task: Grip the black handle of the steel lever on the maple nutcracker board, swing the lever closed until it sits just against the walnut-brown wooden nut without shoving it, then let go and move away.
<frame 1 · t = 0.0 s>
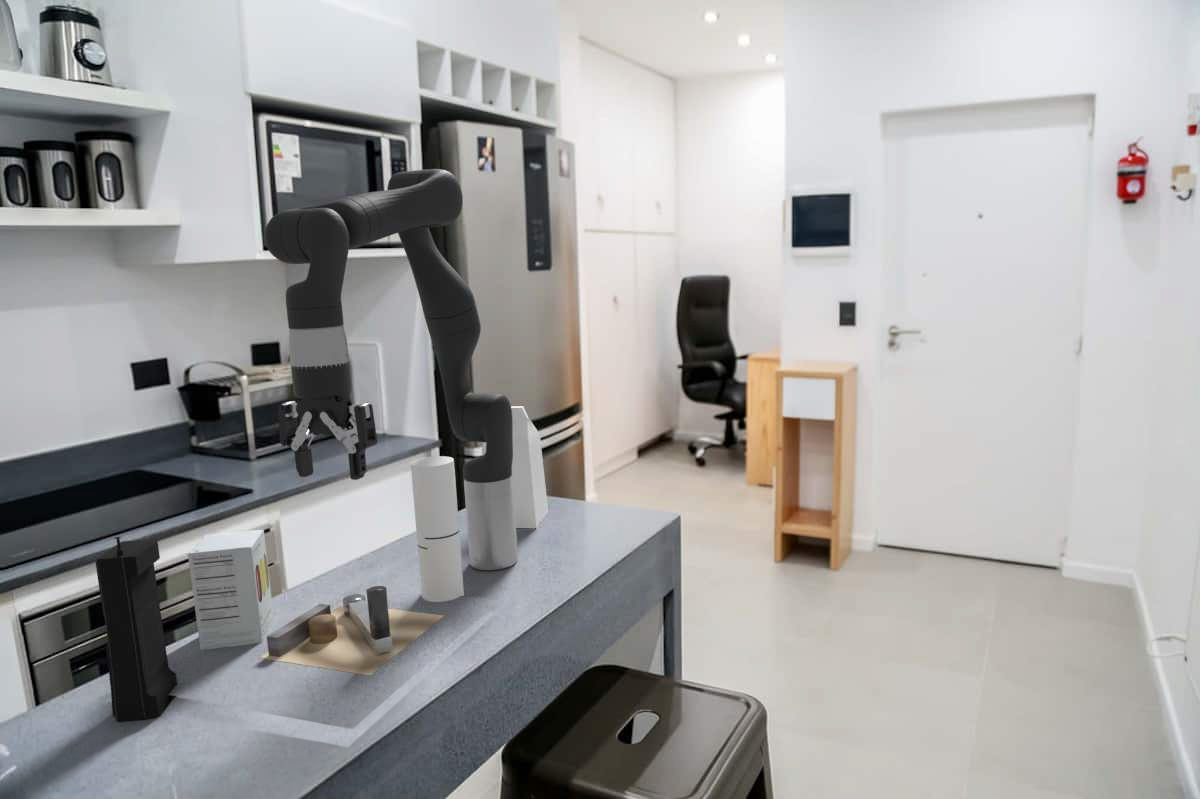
hand: (331, 477, 114), 29 cm above the counter, tool pointing down, fingers open, 8 cm apart
supplement box: (239, 642, 131), on the counter
nut: (323, 638, 127), point 1 cm above the counter, touching nutcracker board
milk: (516, 521, 186), on the counter
portable radio: (148, 706, 113), on the counter
nutcracker board: (356, 621, 136), on the counter
cylindrical container: (443, 602, 143), on the counter
lever: (364, 600, 128), point 7 cm above the counter, hinge at 50.0°
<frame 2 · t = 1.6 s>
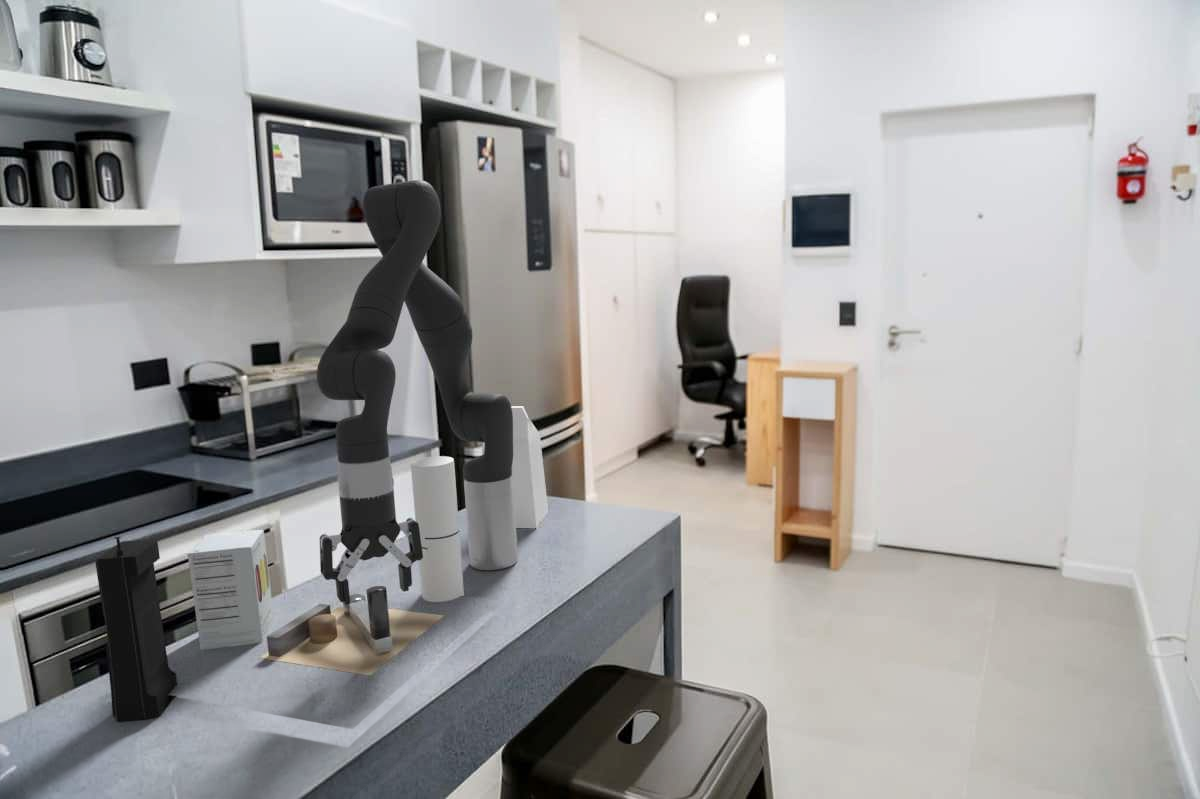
hand: (375, 596, 121), 10 cm above the counter, tool pointing down, fingers open, 8 cm apart
nothing on the counter moved.
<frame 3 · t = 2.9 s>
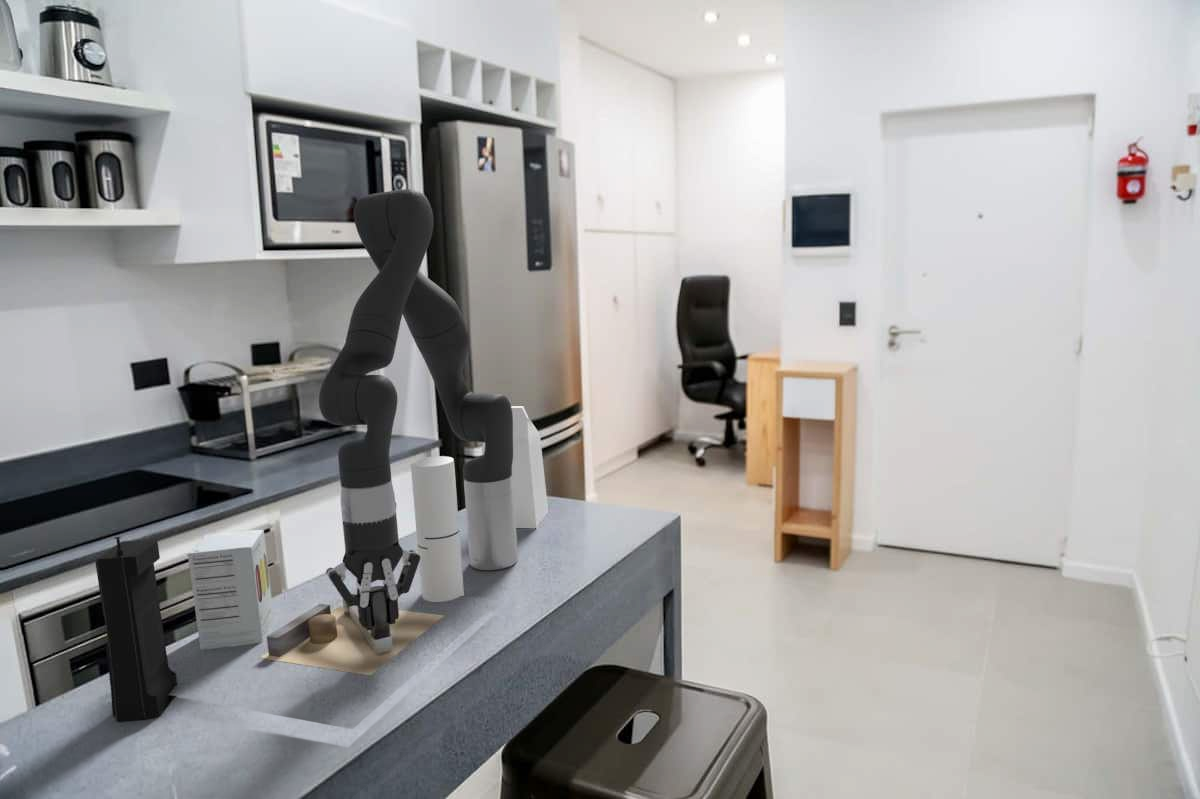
hand: (379, 624, 122), 6 cm above the counter, tool pointing down, fingers closed on lever, 3 cm apart
lever: (364, 600, 128), point 7 cm above the counter, hinge at 50.0°, touching gripper
everything else where it was.
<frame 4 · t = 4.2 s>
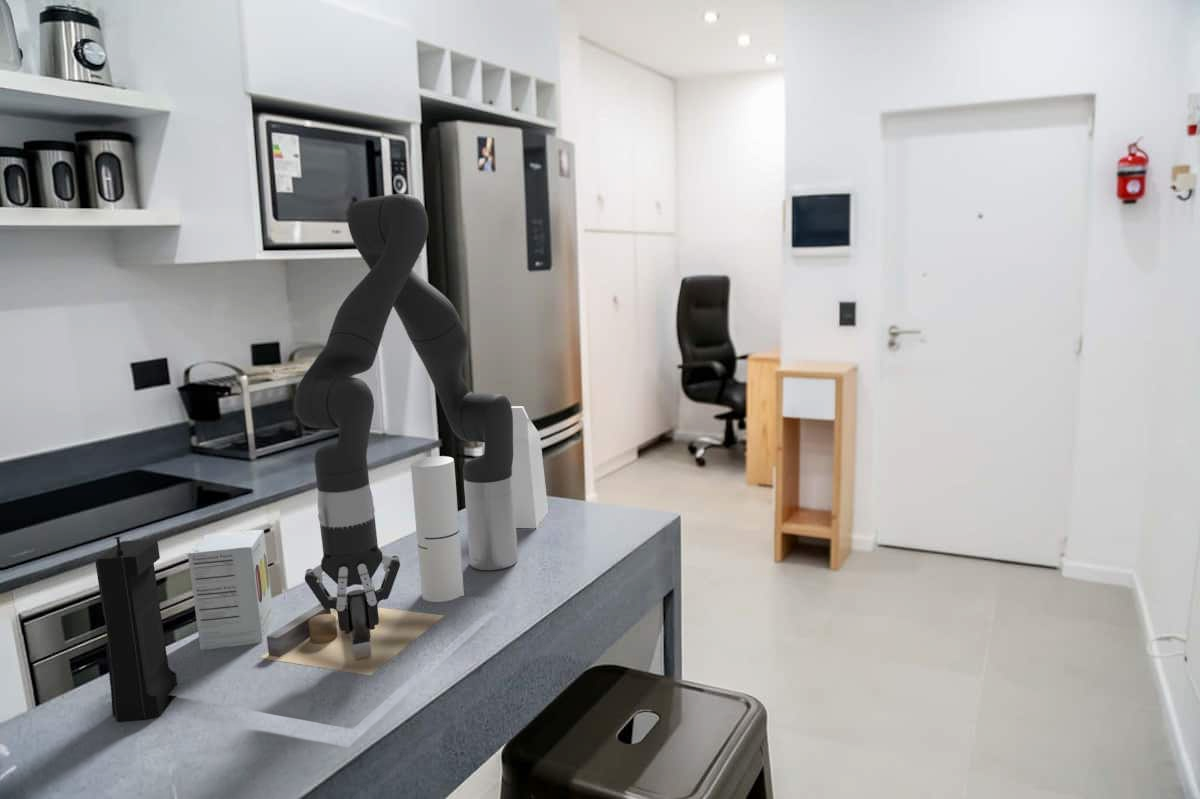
hand: (359, 629, 120), 6 cm above the counter, tool pointing down, fingers closed on lever, 3 cm apart
lever: (355, 602, 128), point 6 cm above the counter, hinge at 39.8°, touching gripper
everything else where it was.
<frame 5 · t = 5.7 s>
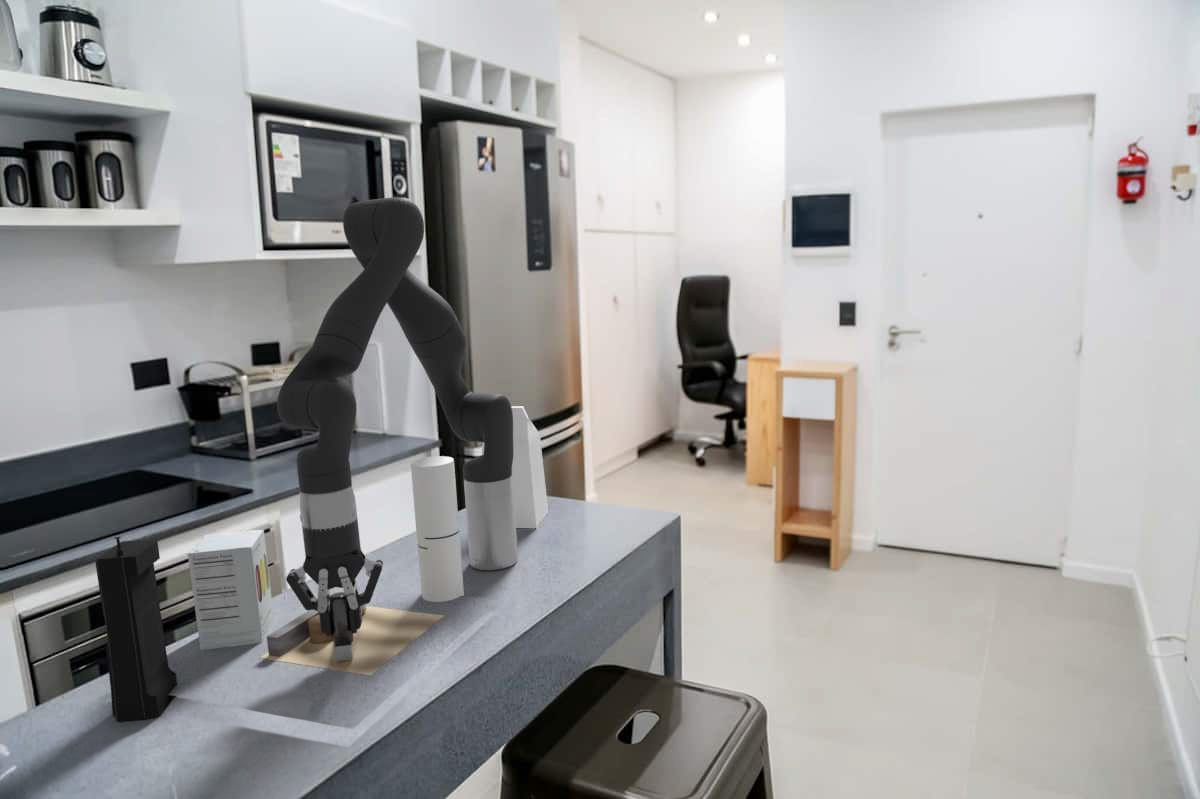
hand: (342, 631, 120), 6 cm above the counter, tool pointing down, fingers closed on lever, 3 cm apart
lever: (347, 603, 128), point 7 cm above the counter, hinge at 31.2°, touching gripper
everything else where it was.
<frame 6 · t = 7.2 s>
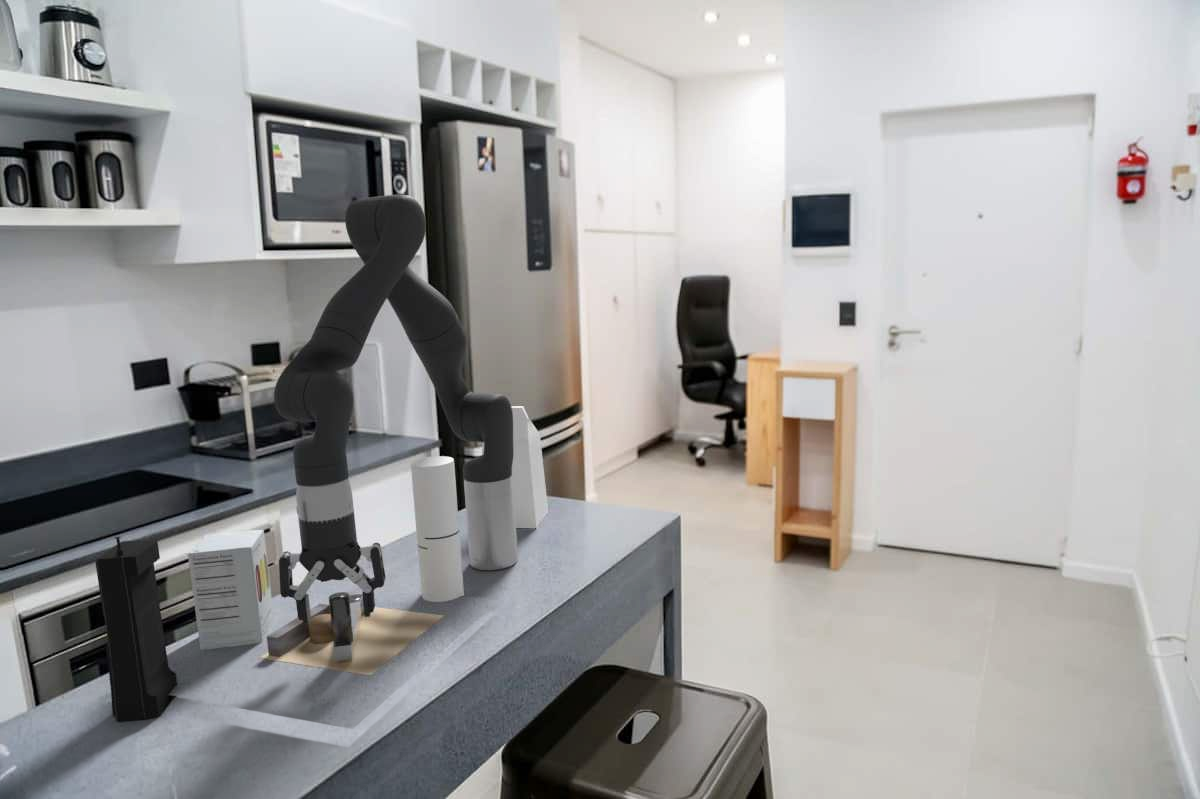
hand: (337, 618, 119), 8 cm above the counter, tool pointing down, fingers open, 8 cm apart
lever: (347, 603, 128), point 7 cm above the counter, hinge at 31.1°
everything else where it was.
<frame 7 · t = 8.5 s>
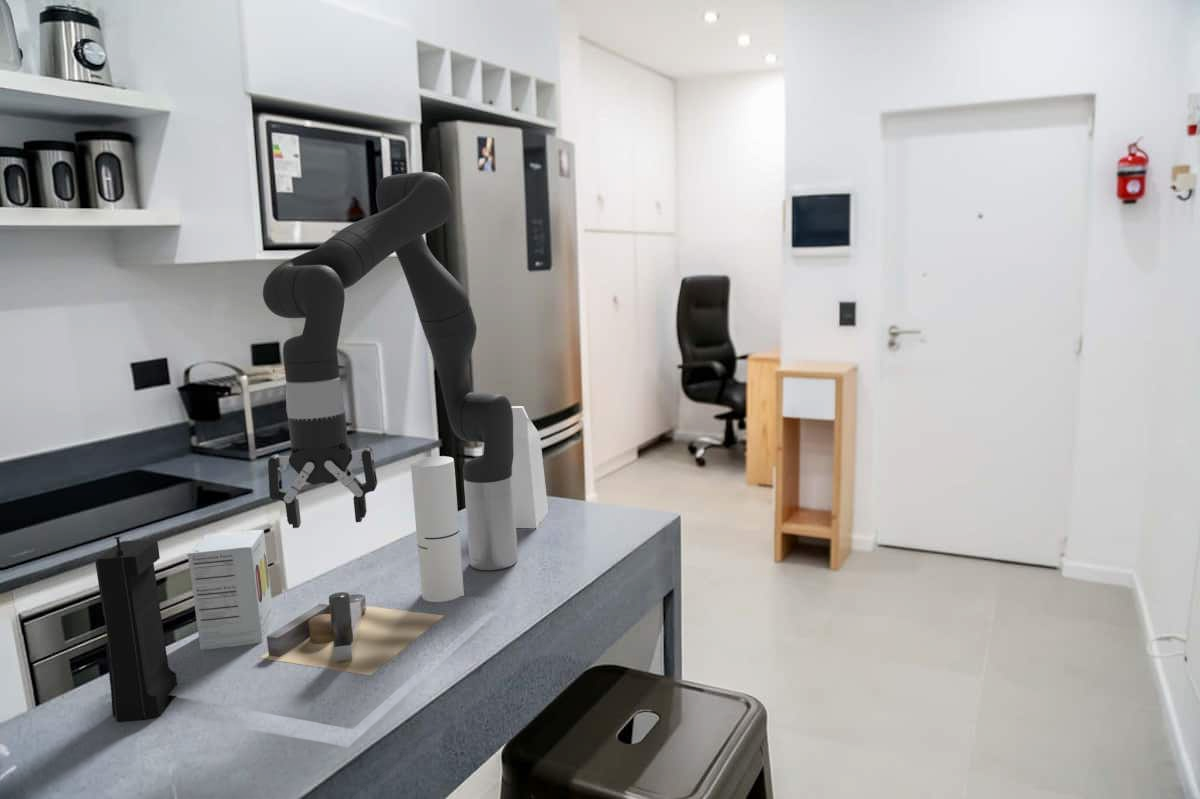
hand: (328, 523, 117), 22 cm above the counter, tool pointing down, fingers open, 8 cm apart
nothing on the counter moved.
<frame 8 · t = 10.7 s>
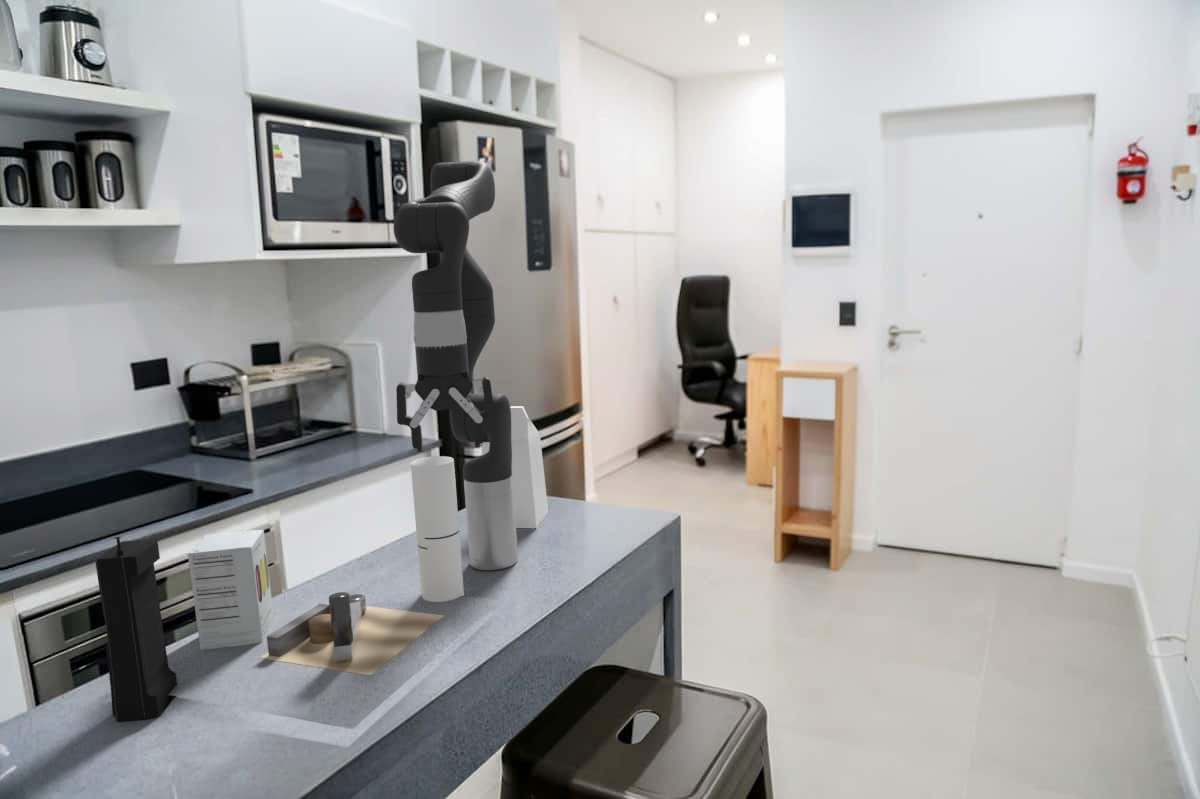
hand: (448, 448, 124), 30 cm above the counter, tool pointing down, fingers open, 8 cm apart
nothing on the counter moved.
at the end: lever at +31° (first picture: +50°); nut moved 0.0 cm from its start; the gripper is holding nothing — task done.
